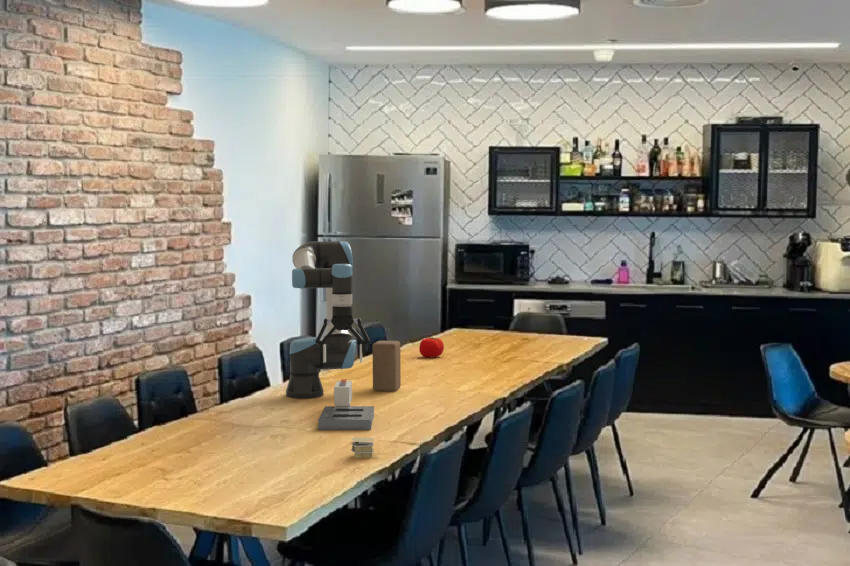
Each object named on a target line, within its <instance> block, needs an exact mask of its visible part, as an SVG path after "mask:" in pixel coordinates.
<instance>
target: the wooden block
mask: <svg viewBox="0 0 850 566" xmlns="http://www.w3.org/2000/svg"><path fill="white" fill-rule="evenodd" d="M401 370H402V369H401V342H400V341H399V340H378V341H376V342H373V344H372V390H373V391H374V392H396V391H397V390H399V389H400V388H401V386H402V385H401V384H402V383H401Z"/></svg>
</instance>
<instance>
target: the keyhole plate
mask: <svg viewBox="0 0 850 566" xmlns="http://www.w3.org/2000/svg"><path fill="white" fill-rule="evenodd" d="M374 418H375V406H374V405H362V406H360V405H358V406H357V405H355V406H354V405H352V406H351V405H350V406H334V405H333V406H332V405H329V406H328V405H327V406H326V405H325V406H324V408H323V409H322V412H321V414H320V415H319V417H318V420H317V421H318V427H317V428H318V431H351V430H352V431H357V430H358V431H359V430H360V431H371V430H372V426H373V422H374Z"/></svg>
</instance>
